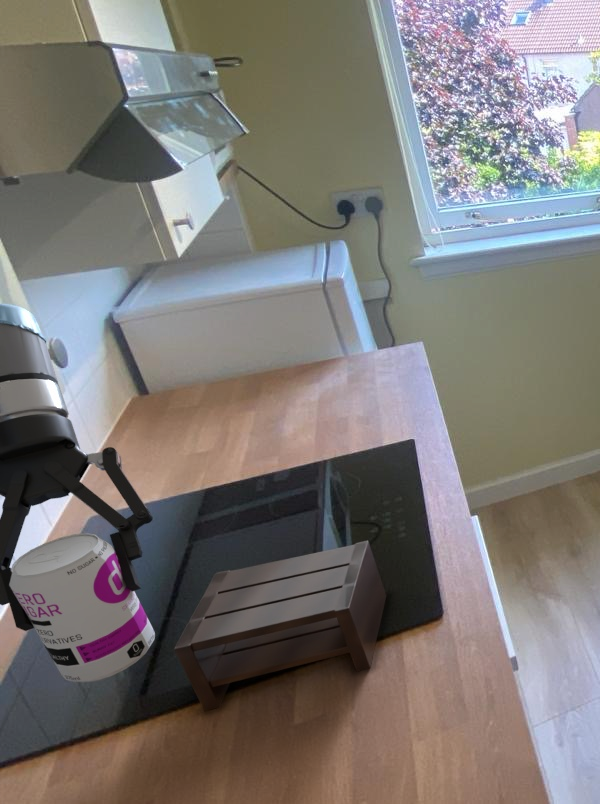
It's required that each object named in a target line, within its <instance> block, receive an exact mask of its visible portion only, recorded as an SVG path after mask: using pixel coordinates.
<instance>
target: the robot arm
mask: <svg viewBox="0 0 600 804" xmlns="http://www.w3.org/2000/svg"><path fill="white" fill-rule="evenodd" d="M69 414H70V413H69V410H68V408H67V404H66V402H65V398H64V396H63V393H62V389H61V386H60V384H59V381H58V378H57V374H56V371H55V368H54V365H53V361H52V358H51V355H50V351H49V349H48V344H47V339H46V338H45V337H44V334H43V332H42V330H41V328H40V326H39V323H38V321H37V319H36V317H35V315H34V314H33V313H32V312H30V311H29V310H28V309H26V308H24V307H22V306H19V305H16V304H11V303H2V302H0V496H2V497H3V498H4V500H3V503H2V505H1V507H2V512H1V515H0V606H5V605H9V607H10V610H11V614H12V617H13V620H14V624H15V628H17V629H20V630H22V631H25V632H27V631H30V630H33V629H34V627H33V625H32V623H31V621H30V620H29V618H28V616H27V615H26V613H25V611H24V609H23V608H22V606H21V604H20V603H19V601H18V599H17V598H16V596H15V594H14V592H13V591H12V589H11V587H10V586H9V584H10V580H11V576H12V571H11V568H12V567H10V566H11V564H12V560H13V558H14V555H15V552H16V548H17V545H18V542H19V539H20V536H21V532H22V530H23V526H24V524H25V520H26V517H27V516H28V515H29V514H30V511H31V507H34V506H37V505H41V504H43V503H45V502H47V501H49V500H53V499H61V498H65V497H68V496H70V495H69V494H71V495H73V496H74V497H75V498H77V499H78V500H79V501H81V503H83V504H84V505H86V506H87V507H88V508H90V510H93V512H95V513H96V514H97V515H98V516H100V517H101V518H102V519H103V520H105V521H106V522H107V523H108V524H109V525H111V526H112V527H113V528H114V529H115V530H117V532H114V533H110V534H109V537H110V540H111V543H112V544H111V545H112V547H113V549H114V551H115V553H116V555H117V558H118V562H119V565H120V568H121V571H122V574H123V577H124V580H125V583H126V586H127V588H129V589H130V590H131V591H135V592H136V591H138V590H142V587H141V583H140V581H139V578H138V575H137V572H136V569H135V565H134V562H133V561H134V560H137V559H140V558H143V550H142V546H141V544H140V541H139V537H138V535H137V532H138V529H140V528H141V527H143V526H144V525H147V524H150V523H151V522H152V521H153V519H154V516H153V514H152V513H151V512H150V510H149V509H148V507H147V506H146V504H145V503H144V501H143V500H142V498H141V497H140V495H139V494H138V492H137V491H136V489H135V488H134V486H133V484H132V483H131V482H130V480H129V478H128V477H127V475H126V474H125V472H124V471H123V464H122V456H121V455H120V453H119V452H118V450H117V449H116V448H114V447H112V446H108V447H105V448H104V449H102V450H101V451H98V452H92V453H86V452H84V451H83V450H82V449H81V447H80V443H79V441H78V438H77V435H76V431H75V429H74V428H75V427H74V426H73V423H72V420H70V419H69ZM90 465H94V466H95V467H96V468H97V469H98V470H99V471H105V473H106V474H107V476H108V477H109V479H110V480H111V482H112V484H113V485H114V487H115V488H116V490H117V491H118V493H119V494H120V496H121V497H122V499H123V500H124V502H125V503H126V505H127V506H128V508H129V510H130V511H131V512H132V515H130V516H128V517H127V518H126V517H125V516H123V515H122V514H121V513H119V512H118V511H117V510H116V509H114V508H113V507H112V506H111V505H109V503H107V502H106V501H104V500H103V499H102V498H101V497H100V496H98V495H97V494H96V493H94V491H92V490H91V489H90V488H88V487H87V486H86V485H85V484H83V482H81V480H82V478H83V477H84V475H85V473H86V472H87V470H88V468H89V467H90Z"/></svg>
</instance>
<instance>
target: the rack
mask: <svg viewBox="0 0 600 804" xmlns="http://www.w3.org/2000/svg"><path fill="white" fill-rule="evenodd" d="M386 600H387V593H386V590H385V588H384V584H383V581H382V578H381V575H380V573H379V569H378V567H377V564H376V560H375V557H374V555H373V551H372V548H371V545H370V542H369V540H364V541H359V542H355V544H351V545H346V546H340V547H337V548H332V549H326V550H323V551H318V552H314V553H313V552H312V553H309V554H305V555H299V556H296V557H295V556H294V557H290V558H285V559H280V560H276V561H271V562H270V561H269V562H266V563H261V564H256V565H253V566H248V567H244V568H237V569H233V570H230V569H228V570H224V571H219V572H215V574H214V575H213V577H212V578H211V581H210V582H209V584H208V586H207V588H206V590H205V592H204V594H203V596H202V597H201V599H200V601H199V603H198V605H197V606H196V608H195V610H194V612H193V614H192V615H191V617H190V619H189V621H188V622H187V624H186V626H185V628H184V630H183V632H182V633H181V635H180V637H179V639H178V641H177V642H176V644H175V647H174V648H173V652H174V653H175V656H176V658H177V659H178V661H179V664H180V665H181V667H182V669H183V671H184V673H185V675H186V678H187V679H188V682H189V683H190V685H191V687H192V690H193V691H194V693H195V695H196V697H197V699H198V702H199V703H200V705H201V707H202V708H203V711H204V712H207V711H210V710H214V709H217V708H220V707H221V705H222V702H223V700H224V698H225V696H226V693H227V691H228V689H229V687H230V685H231V683H235V682H239V681H243V680H246V679H250V678H254V677H258V676H262V675H267V674H270V673H271V674H272V673H275V672H279V671H282V670H286V669H290V668H294V667H298V666H303V665H306V664H310V663H315V662H318V661H321V660H327V659H330V658H335V657H338V656H342V655H346V654H350V658H351V660H352V663H353V665H354V668H355V670H356V672H360V671H364V670H368V669H371V666H372V662H373V658H374V653H375V649H376V643H377V639H378V636H379V631H380V626H381V623H382V617H383V613H384V609H385V604H386Z"/></svg>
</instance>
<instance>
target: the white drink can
mask: <svg viewBox="0 0 600 804" xmlns="http://www.w3.org/2000/svg"><path fill="white" fill-rule="evenodd" d="M10 568H11V571H12V576H11V580H10V584H9V586H10V587H11V589H12V591H13V592H14V594H15V596H16V598H17V599H18V601H19V603H20V604H21V606H22V608H23V609H24V611H25V613H26V615H27V616H28V618H29V620H30V621H31V623H32V625H33V627H34V628H33V629H34V630H35V632H36V634H37V636H38V637H39V639H40V641H41V643H42V644H43V646H44V648H45V649H46V651H47V653H48V655H49V656H50V658H51V660H52V661H53V663H54V665H55V667H56V668H57V670H58V672H59V673H60V676H61V677H63V679H64V680H66V681H69V682H74V683H79V682H80V683H89V682H97V681H100V680H104V679H106V678H110V677H112V676H115V675H116V674H118V673H121V672H122V671H125V670H126V669H128V668H129V667H131V666H132V665H134V664H135V663H137V662H138V661H139V660H141V659H142V658H143V657H144V656H145V655H146V654H147V652H148V651H149V649H150V647H152V644H153V643H154V641H155V640H156V638H155V637H156V633H155V632H156V631H155V630H154V628H153V625H152V624H151V622H150V620H149V618H148V615H147V613H146V612H145V610H144V608H143V606H142V604H141V602H140V599H139V598H138V595H137V594H136V591H131V590H130V589H129V588H127V586H126V583H125V580H124V577H123V574H122V571H121V568H120V565H119V562H118V558H117V555H116V553H115V550H114V547H113V545H112V544H110V543H109V542H108V541H106V540H104V539H102V538H100V537H99V536H98V535H96V534H95V533H88V532H83V533H73V534H69V535H66V536H62V537H58V538H55V539H52V540H49V541H46V542H44V543H42V544H40V545H38V546H36V547H34V548H32V549H30V550H29V551H27V552H25V553H24V554H22V555H21V556H19V557H18V558H17V559H16V561H14V562H13V563H12V565H11V567H10Z"/></svg>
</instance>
